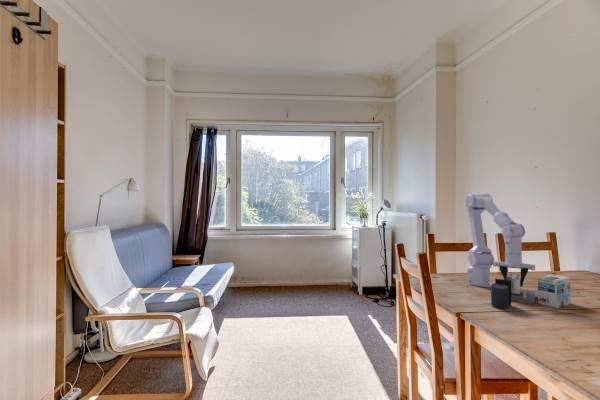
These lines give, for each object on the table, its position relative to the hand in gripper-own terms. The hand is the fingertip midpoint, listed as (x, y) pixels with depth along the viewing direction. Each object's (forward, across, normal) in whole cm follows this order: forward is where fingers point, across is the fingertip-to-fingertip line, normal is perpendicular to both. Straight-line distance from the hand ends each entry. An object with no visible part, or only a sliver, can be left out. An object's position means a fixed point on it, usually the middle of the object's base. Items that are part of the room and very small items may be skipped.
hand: (513, 285), depth 134 cm
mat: (+5, +3, +12) cm, 13 cm away
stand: (+5, 0, 0) cm, 5 cm away
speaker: (+6, -3, -15) cm, 16 cm away
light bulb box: (+6, +13, -1) cm, 14 cm away
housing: (+2, 0, 0) cm, 2 cm away
